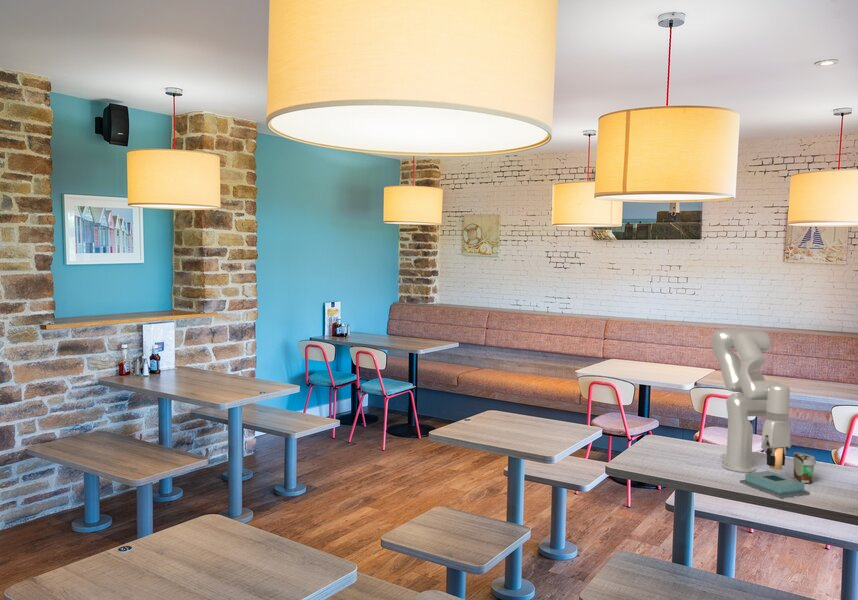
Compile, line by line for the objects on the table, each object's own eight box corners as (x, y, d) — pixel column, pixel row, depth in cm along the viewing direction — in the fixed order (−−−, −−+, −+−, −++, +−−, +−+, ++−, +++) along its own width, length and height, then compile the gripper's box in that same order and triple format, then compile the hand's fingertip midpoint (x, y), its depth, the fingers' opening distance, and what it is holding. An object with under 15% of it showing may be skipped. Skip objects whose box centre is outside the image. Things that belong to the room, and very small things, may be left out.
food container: (820, 487, 258) (821, 461, 258) (802, 485, 259) (804, 460, 259) (808, 477, 270) (810, 453, 270) (792, 476, 271) (793, 451, 271)
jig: (739, 482, 261) (740, 472, 261) (766, 479, 266) (767, 469, 266) (781, 498, 243) (782, 487, 243) (809, 494, 248) (810, 484, 248)
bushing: (766, 467, 255) (767, 446, 255) (774, 466, 257) (775, 445, 256) (776, 470, 251) (777, 449, 251) (784, 469, 252) (785, 448, 252)
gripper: (785, 414, 260) (783, 461, 260) (752, 416, 254) (750, 464, 254) (802, 418, 253) (800, 466, 253) (769, 420, 247) (767, 469, 247)
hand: (775, 464), depth 254 cm, fingers closed on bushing, 4 cm apart
